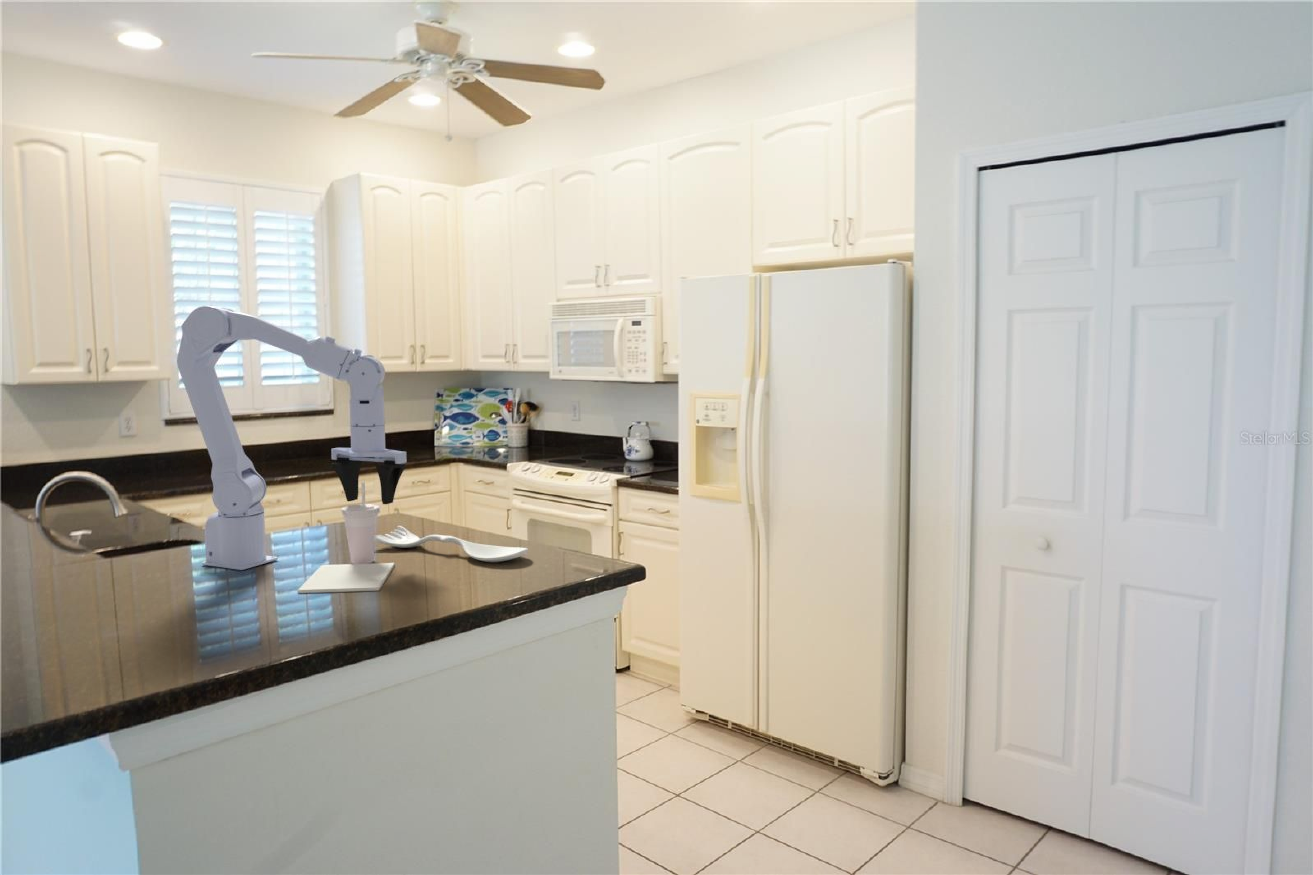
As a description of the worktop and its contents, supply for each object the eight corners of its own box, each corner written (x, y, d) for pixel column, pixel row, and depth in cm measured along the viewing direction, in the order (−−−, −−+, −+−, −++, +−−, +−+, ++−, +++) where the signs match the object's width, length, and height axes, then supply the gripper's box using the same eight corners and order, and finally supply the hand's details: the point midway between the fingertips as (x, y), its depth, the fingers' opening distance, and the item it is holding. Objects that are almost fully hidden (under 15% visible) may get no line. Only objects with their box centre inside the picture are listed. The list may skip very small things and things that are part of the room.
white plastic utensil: (399, 541, 168) (398, 523, 167) (537, 559, 154) (537, 540, 154) (365, 550, 160) (365, 532, 159) (508, 571, 146) (508, 551, 146)
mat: (321, 567, 146) (321, 565, 146) (394, 565, 148) (394, 562, 148) (297, 593, 132) (297, 590, 132) (378, 590, 133) (378, 587, 133)
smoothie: (374, 566, 147) (371, 486, 146) (337, 566, 148) (334, 485, 146) (386, 557, 154) (384, 480, 152) (350, 557, 154) (348, 479, 152)
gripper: (318, 425, 149) (320, 502, 150) (387, 429, 144) (389, 508, 145) (345, 422, 155) (348, 496, 157) (413, 425, 150) (415, 501, 152)
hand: (369, 501), depth 152 cm, fingers open, 7 cm apart
